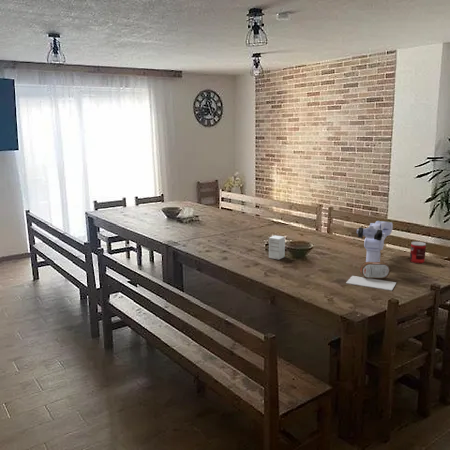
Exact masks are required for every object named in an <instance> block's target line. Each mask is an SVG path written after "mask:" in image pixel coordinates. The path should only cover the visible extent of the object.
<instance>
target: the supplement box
mask: <svg viewBox="0 0 450 450" xmlns="http://www.w3.org/2000/svg"><path fill="white" fill-rule="evenodd" d="M285 241H286V236H282V235H272V236H270V237H268V259H269V258H270V259H273V260H274V259H275V260H281V259H283V258H285V253H286V252H285V249H286V246H285V245H286V242H285Z"/></svg>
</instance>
